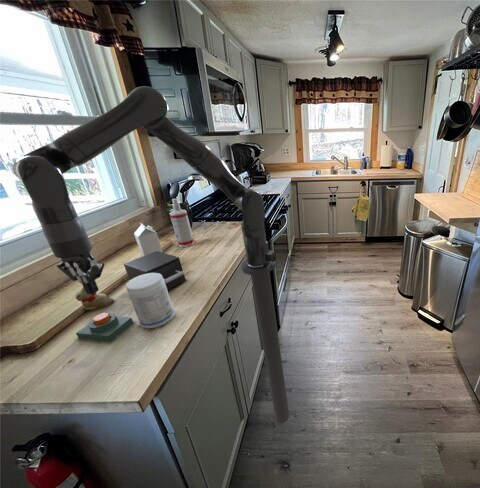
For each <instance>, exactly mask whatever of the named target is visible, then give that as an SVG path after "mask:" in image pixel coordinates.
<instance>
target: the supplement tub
mask: <svg viewBox="0 0 480 488" xmlns="http://www.w3.org/2000/svg"><path fill="white" fill-rule="evenodd" d="M125 289H126V292H127V296H128V298H129V300H130V302H131V305H132V308H133V310H134V312H135V315H136V317H137V320H138V322H139V325H140V326H141V327H142V328H145V329H155V328H159V327H161V326H164V325H166V324H167V323H169V322H170V321H171V320H172V319H173V317H174V315H175V310H174V306H173V304H172V301H171V297H170V294H169V292H168V291H169V290H167V288H166V285H165V281H164V279H163V277H162V275H161V274H159V273H148V274H143V275H140V276H137V277H135V278H133V279H131V280H130V279H129V280H128V281H127V283H126V284H125Z"/></svg>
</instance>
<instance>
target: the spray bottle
mask: <svg viewBox="0 0 480 488" xmlns="http://www.w3.org/2000/svg"><path fill="white" fill-rule="evenodd" d="M171 201H172V209H173V210H172V211H170V212H169V217H170V221H171V224H172V227H173V231H174V234H175V238H176V242H177V245H178V246H179V248H186V247H190V246H193V245H194V244H195V239H194V235H193V231H192V227H191V223H190V219H189V216H188V211H187V210H186V209H182V208H181V204H180V203H179V201H178V198H172V199H171Z"/></svg>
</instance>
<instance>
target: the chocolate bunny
mask: <svg viewBox="0 0 480 488" xmlns="http://www.w3.org/2000/svg"><path fill="white" fill-rule="evenodd" d="M75 300H77V301H79V302H81V303H82V304H81V305H82V306H83V307H85V309H84V310H86V311H93V310H98V309H101V308H104V307H107V306H109V305H110V304H112V303H114V299H113V298H111V297H110V296H108V295H107V294H105V293H97V292H96V293H94V294H87V293H86V291H85V289H84V287H83V286H82V288H81V289H80V290H78V291H77V292H76V293H75Z"/></svg>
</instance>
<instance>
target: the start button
mask: <svg viewBox="0 0 480 488" xmlns="http://www.w3.org/2000/svg"><path fill="white" fill-rule="evenodd" d="M108 313H109V312H102V313H99V314H97V315H95V316H94V317H93V318H92V320H93V321H94V323H95V325H100V324H103V323H105V322H107V321H109V320H110V317H109V315H108Z"/></svg>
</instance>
